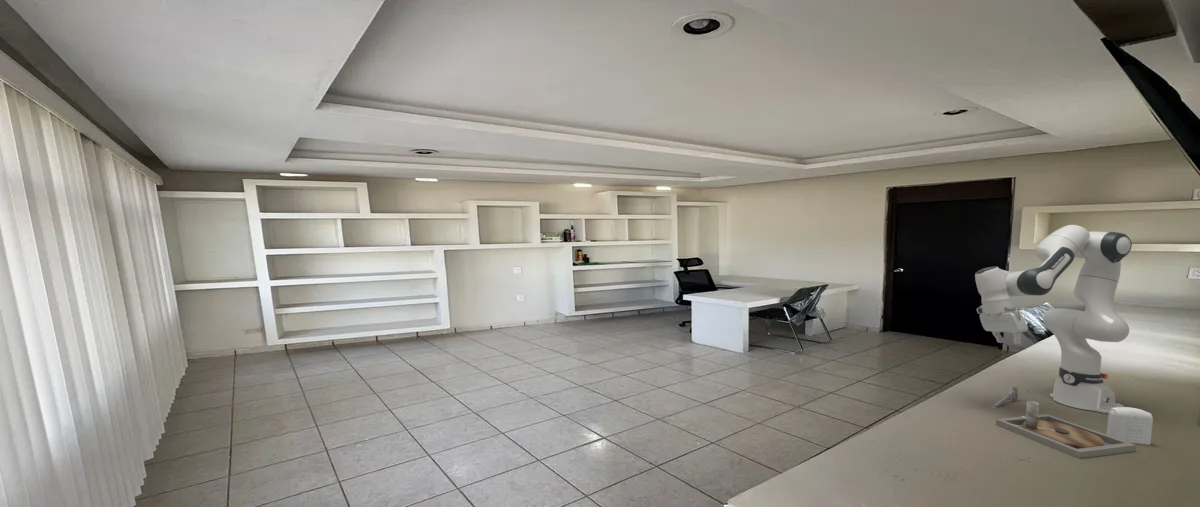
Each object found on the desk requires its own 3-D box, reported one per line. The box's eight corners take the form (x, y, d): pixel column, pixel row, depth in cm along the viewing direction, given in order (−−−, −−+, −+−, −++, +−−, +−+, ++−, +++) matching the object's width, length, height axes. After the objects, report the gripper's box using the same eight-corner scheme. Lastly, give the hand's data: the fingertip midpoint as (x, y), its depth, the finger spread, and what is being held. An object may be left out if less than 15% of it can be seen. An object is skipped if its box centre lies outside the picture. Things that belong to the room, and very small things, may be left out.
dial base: (1046, 422, 165) (1046, 413, 165) (1135, 454, 142) (1136, 444, 142) (995, 427, 160) (995, 418, 160) (1078, 462, 137) (1079, 451, 137)
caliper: (1014, 400, 188) (1015, 385, 187) (1017, 401, 187) (1018, 386, 186) (991, 408, 178) (992, 393, 178) (994, 409, 177) (995, 394, 177)
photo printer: (1142, 442, 150) (1145, 407, 149) (1153, 448, 146) (1156, 412, 145) (1103, 438, 153) (1105, 403, 152) (1113, 444, 149) (1116, 408, 148)
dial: (1082, 430, 156) (1084, 401, 155) (1118, 455, 138) (1121, 422, 138) (1013, 420, 163) (1014, 392, 163) (1038, 443, 146) (1040, 411, 146)
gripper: (1026, 306, 163) (1038, 343, 161) (990, 307, 183) (1001, 340, 181) (1007, 308, 164) (1019, 346, 162) (973, 309, 184) (983, 342, 182)
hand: (1009, 343), depth 172 cm, fingers open, 8 cm apart
